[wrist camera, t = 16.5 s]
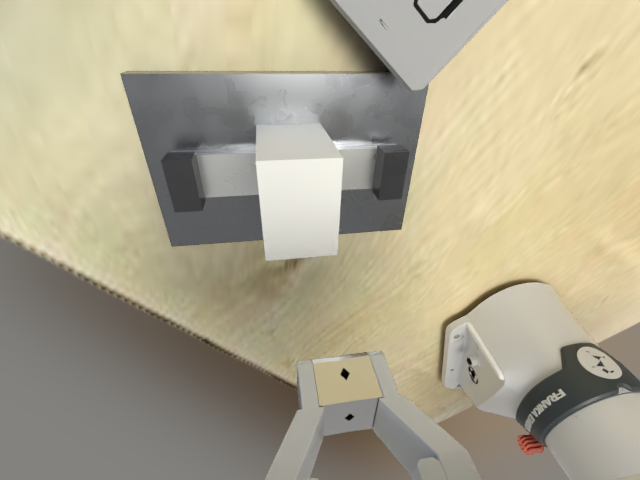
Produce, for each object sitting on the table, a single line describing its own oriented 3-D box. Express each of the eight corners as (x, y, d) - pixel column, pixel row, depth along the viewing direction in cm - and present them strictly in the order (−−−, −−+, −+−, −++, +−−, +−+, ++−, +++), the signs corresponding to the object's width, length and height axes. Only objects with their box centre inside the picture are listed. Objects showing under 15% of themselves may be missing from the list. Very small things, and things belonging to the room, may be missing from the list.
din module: (319, 211, 29) (336, 263, 23) (264, 214, 28) (266, 270, 22) (320, 123, 25) (343, 157, 18) (256, 125, 24) (255, 161, 18)
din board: (395, 221, 33) (413, 246, 29) (175, 237, 30) (163, 267, 26) (422, 71, 25) (450, 78, 22) (128, 71, 22) (102, 79, 18)
